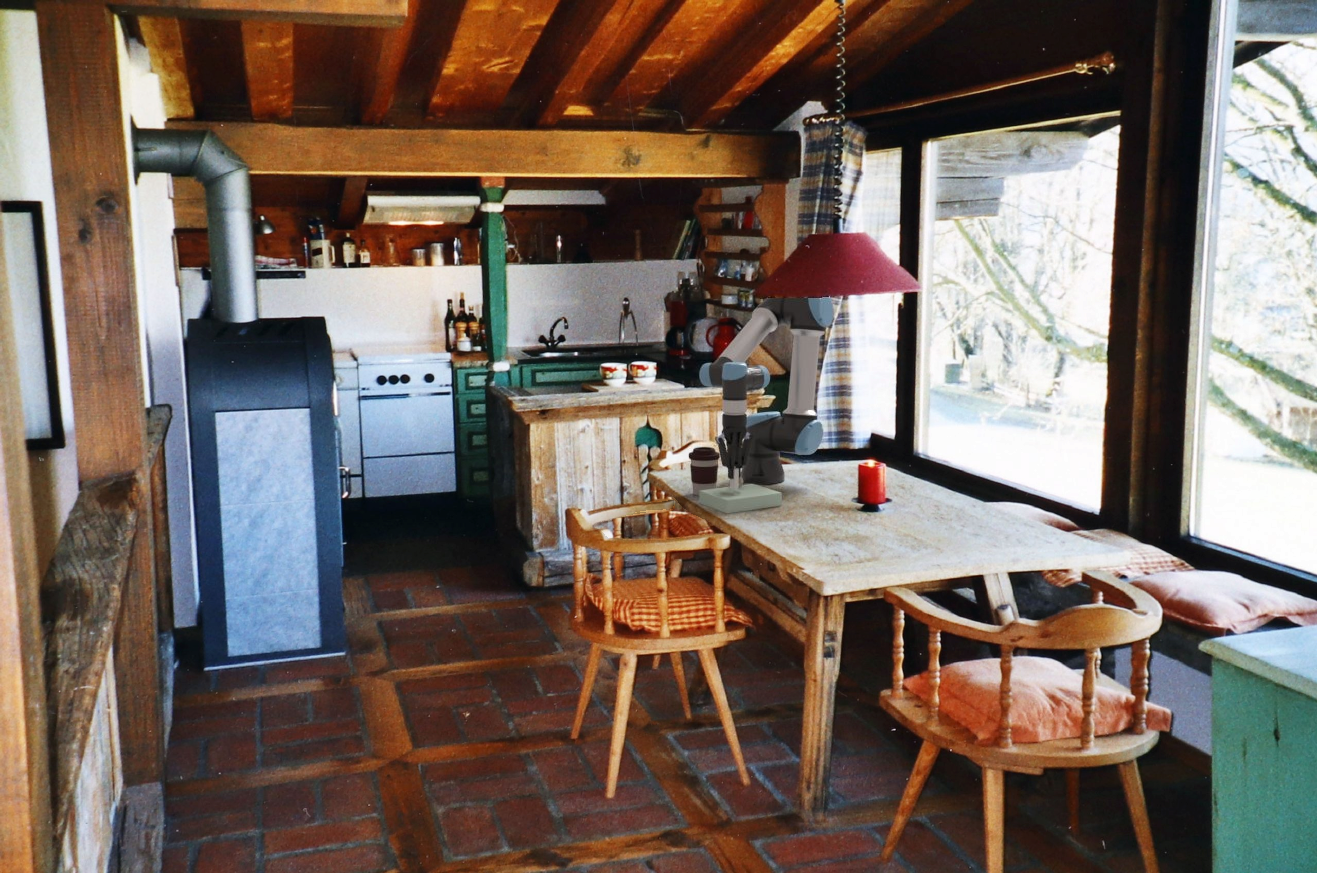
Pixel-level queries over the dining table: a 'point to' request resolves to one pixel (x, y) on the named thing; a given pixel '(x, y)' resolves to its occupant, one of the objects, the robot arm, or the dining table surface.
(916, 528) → the dining table surface
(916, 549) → the dining table surface
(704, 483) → the coffee cup
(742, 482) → the beech ball
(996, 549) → the dining table surface
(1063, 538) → the dining table surface
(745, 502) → the board
